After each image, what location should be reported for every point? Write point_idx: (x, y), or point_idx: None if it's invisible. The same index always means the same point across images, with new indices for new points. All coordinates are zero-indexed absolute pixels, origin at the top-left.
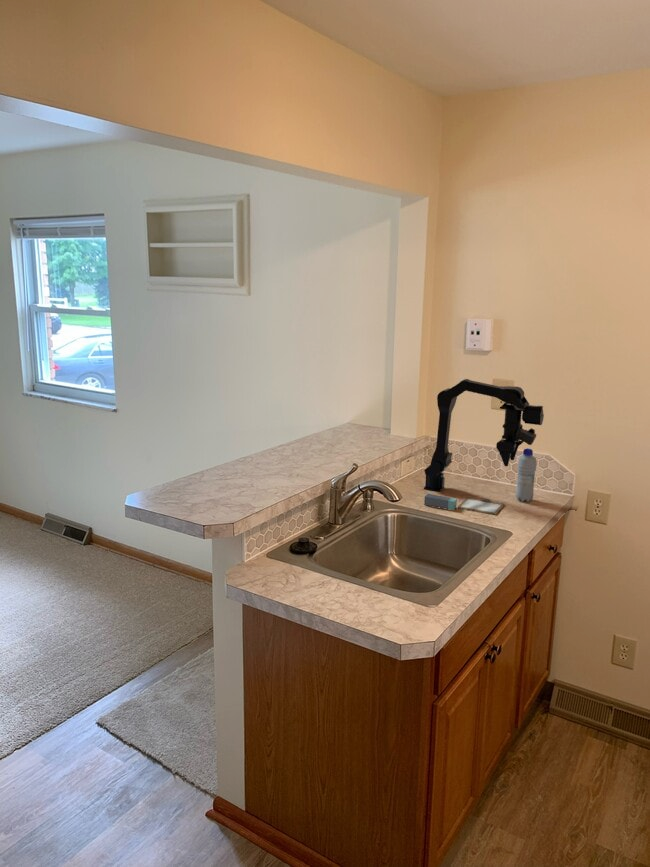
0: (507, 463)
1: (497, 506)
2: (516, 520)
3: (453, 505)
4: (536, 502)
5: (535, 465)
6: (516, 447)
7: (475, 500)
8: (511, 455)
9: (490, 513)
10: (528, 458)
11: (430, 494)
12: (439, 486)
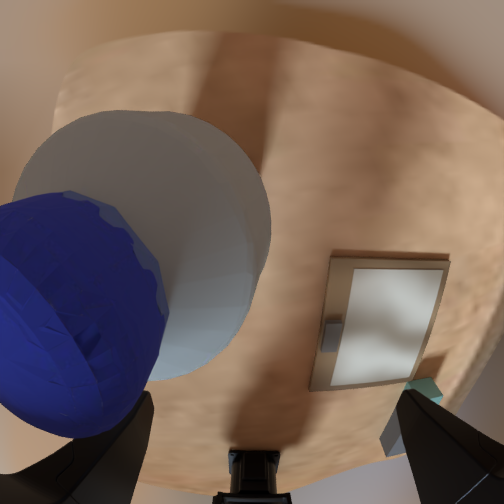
0: (434, 406)
1: (380, 277)
2: (468, 182)
3: (437, 387)
4: (217, 125)
5: (170, 113)
6: (77, 499)
7: (338, 363)
8: (140, 443)
9: (445, 280)
10: (212, 236)
11: (391, 452)
12: (268, 462)
